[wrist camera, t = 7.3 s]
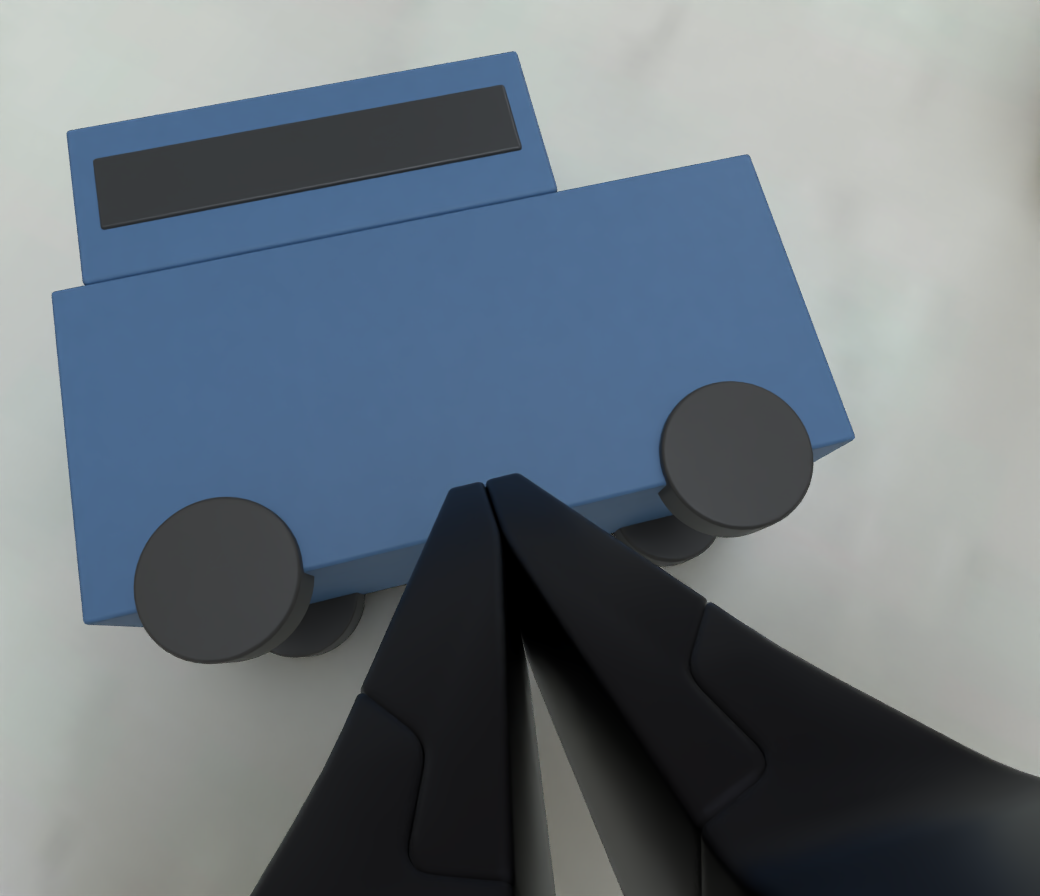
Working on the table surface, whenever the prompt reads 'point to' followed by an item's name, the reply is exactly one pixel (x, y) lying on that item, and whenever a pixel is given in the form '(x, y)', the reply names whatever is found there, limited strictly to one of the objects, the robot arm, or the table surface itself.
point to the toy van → (405, 351)
